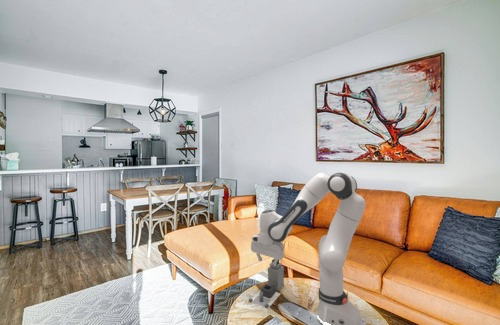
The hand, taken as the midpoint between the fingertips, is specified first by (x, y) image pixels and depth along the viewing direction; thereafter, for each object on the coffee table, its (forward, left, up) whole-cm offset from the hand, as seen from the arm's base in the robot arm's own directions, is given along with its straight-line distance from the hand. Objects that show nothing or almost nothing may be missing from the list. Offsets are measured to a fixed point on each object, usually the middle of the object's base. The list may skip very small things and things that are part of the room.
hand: (267, 262), depth 143 cm
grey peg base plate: (0, +4, -20) cm, 20 cm away
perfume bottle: (-1, -9, -20) cm, 22 cm away
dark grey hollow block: (0, 0, -18) cm, 18 cm away
